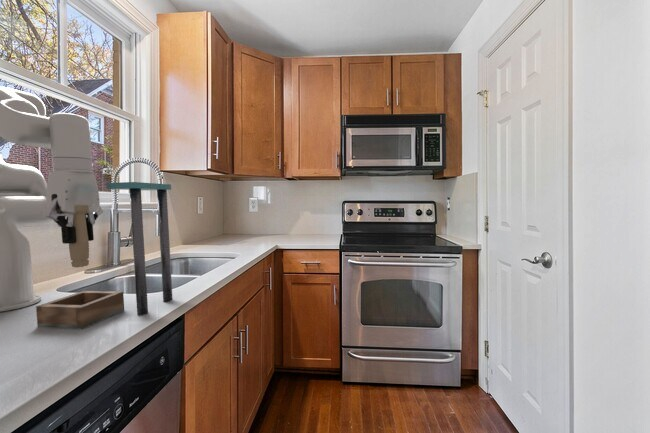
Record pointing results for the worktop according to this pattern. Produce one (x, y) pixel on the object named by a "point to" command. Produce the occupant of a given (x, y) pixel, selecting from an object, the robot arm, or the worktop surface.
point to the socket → (79, 309)
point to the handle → (80, 238)
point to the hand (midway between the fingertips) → (78, 241)
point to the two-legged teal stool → (139, 239)
